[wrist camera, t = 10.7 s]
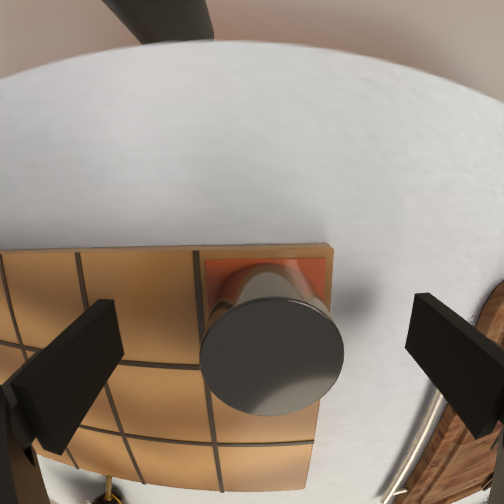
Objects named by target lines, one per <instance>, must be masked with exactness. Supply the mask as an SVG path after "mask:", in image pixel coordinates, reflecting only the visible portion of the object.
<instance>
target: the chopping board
mask: <svg viewBox="0 0 504 504" xmlns="http://www.w3.org/2000/svg"><path fill="white" fill-rule="evenodd" d="M475 328H476V329H477V330H479V331H480V332H481V333H482V334H484V335H485V336H486V337H487V338H489V339H491V340H493V341H495V342H496V343H497V344H499V345H500V346H501V347H502V349H504V281H503V282H502V283H501V284H500V285H499V286H498V287H497V288H495V290H494V291H493V293H492V294H491V296H490V297H489V299H488V300H487V302H486V303H485V305H484V307H483V309H482V312H481V314H480V317H479V319H478V322H477V324H476V327H475ZM443 399H444V397H443V395H442V394H441V393H440V391H439V390H438V389H437V388H436V390H435V393H434V395H433V398H432V400H431V403H430V405H429V408H428V410H427V412H426V415H425V417H424V419H423V422H422V424H421V426H420V428H419V430H418V432H417V435H416V437H415V439H414V441H413V443H412V445H411V447H410V449H409V451H408V453H407V455H406V457H405V458H404V460H403V462H402V464H401V466H400V468H399V470H398V471H397V473H396V475H395V477H394V478H393V480H392V482H391V483H390V485H389V487H388V488H387V490H386V492H385V493H384V495H383V497H382V498H381V500H380V502H381V503H383V504H386V503H388V501H389V500H390V498H391V497H392V495H396V494H398V496H397V497H396V498H395V500H394V502H393V504H451V503H453V502H456V501H458V500H460V499H463V498H465V497H467V496H469V495H472V494H474V493H476V492H478V491H480V490H483V491H485V490H487V489H488V488H490V487H491V485H492V480H493V474H494V469H495V462H496V456H497V451H496V449H497V448H498V444H496V445H495V447H494V448H493V450H491V449H490V448H491V446H492V444H493V442H494V441H495V439H496V437H497V435H498V434H499V432H500V430H501V428H502V427H503V424H502V423H501V422H500V421H499V420H498V422H497V424H496V426H495V428H494V430H493V431H492V433H491V434H489V435H487V436H484V437H482V438H480V439H477V440H475V438H474V437H473V435H472V434H471V433H470V431H469V430H468V429H467V427H466V426H465V424H464V423H463V422H462V420H461V419H460V418H459V416H458V415H457V414H456V412H455V411H454V410H453V408H452V407H451V406H450V404H449V403H448V404H447V407H446V409H445V411H444V413H443V415H442V418H441V420H440V422H439V424H438V426H437V428H436V430H435V432H434V434H433V436H432V438H431V440H430V442H429V444H428V446H427V447H426V449H425V451H424V453H423V455H422V457H421V458H420V460H419V462H418V464H417V465H416V467H415V469H414V470H413V472H412V474H411V475H410V477H409V479H408V480H407V482H406V483H405V485H404V486H403V488H400V489H397V487H398V486H399V484H400V482H401V481H402V479H403V478H404V476H405V474H406V473H407V471H408V469H409V467H410V466H411V464H412V462H413V460H414V459H415V457H416V455H417V453H418V451H419V449H420V447H421V446H422V444H423V442H424V440H425V438H426V436H427V434H428V432H429V430H430V428H431V425H432V423H433V421H434V419H435V417H436V415H437V412H438V410H439V408H440V406H441V403H442V401H443ZM396 489H397V490H396Z"/></svg>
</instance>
